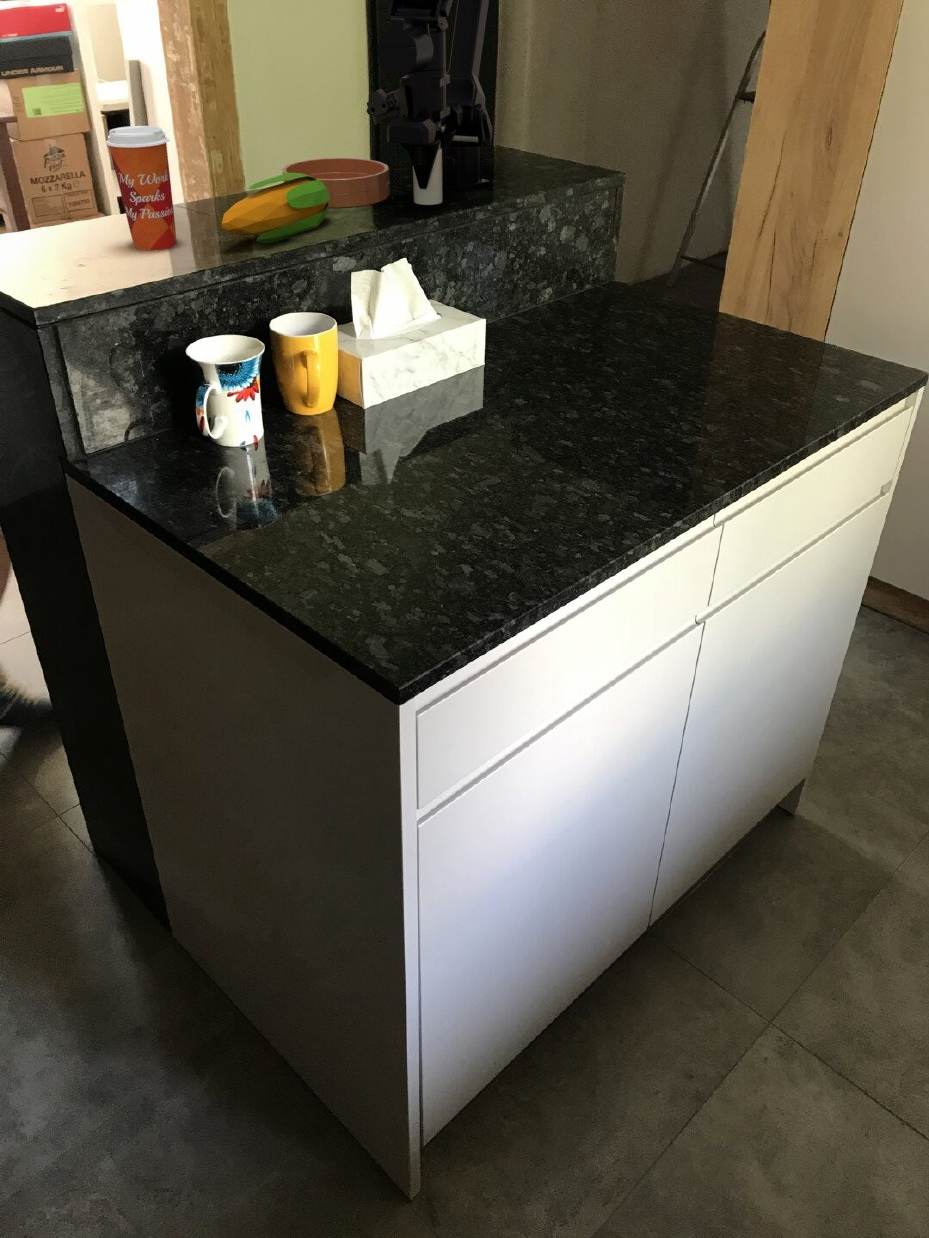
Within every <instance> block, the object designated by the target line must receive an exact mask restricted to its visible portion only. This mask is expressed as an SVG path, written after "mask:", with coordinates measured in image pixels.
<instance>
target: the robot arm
mask: <svg viewBox="0 0 929 1238" xmlns="http://www.w3.org/2000/svg"><path fill="white" fill-rule="evenodd" d="M453 1H454V0H389V5H388V8H387V13H386V20H385V21H386V23H389V29H388V30H387V31H385V32H384V33H383V34H382V35H381V36H380V39H379V42H378V45H377V52H376V53H377V58H378V62H379V64H380V66H381V68H382V69H383V71H385V72H386V73H387V74H388V75H390V76H392V77H395V78H401V79H399V89H396V90H394V91H391V92H389V93H386V92H385V91H384V89H382V88H380V89H377V90H375V91H372V92H370V93H368V101H367V102H366V107H367V108H366V113H367V115H368V116H371V117H372V119H373V122H374V124H375V125H378V124H380V123H383V122H384V121H386V120H388V119H389V120H390V119H391V118H393V117H395V116H397V115H399V117H397V118H395V119H392V121H391V122H390V123H389V124H388V125H387V126H386V142H387V143H391V144H393V143H394V144H397V145H399V146H401V147H402V148H404V150H405V151H406V152H407V153H408V156H409V158H410V161H411V164H412V169H413V168H414V171H415V175H416V178H417V182H418V185H419V188H420V189H426V188H427V186H428V183H429V180H430V177H431V173H432V169H433V166H434V162H435V159H436V155H437V152H438V148H439V144H440V142H441V148H442V184H444V185H450V186H456V187H459V188H467V187H470V186H471V187H472V186H474V187H479V186H485V185H489V184H490V180H488V179H485V178H483V148H484V147H490V146H492V139H493V126H492V123H491V119H490V116H489V114H488V111H487V107H486V96H485V93H484V91H483V89H482V86H481V83H480V81H479V76H480V75H479V74H480V68H481V62H482V61H481V60H482V53H483V48H484V47H483V46H484V40H485V31H486V23H487V17H488V10H489V3H490V0H457V5H456V13H455V19H454V27H453V35H452V42H451V51H450V58H449V65H448V70H447V68H446V67H447V62H446V61H447V60H446V59H447V55H446V54H447V53H446V49H447V47H446V45H447V44H446V30H447V29H448V28H449V23H448V21H447V19H446V18H448V17H449V14H450V11H451V7H452V5H453Z"/></svg>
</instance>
